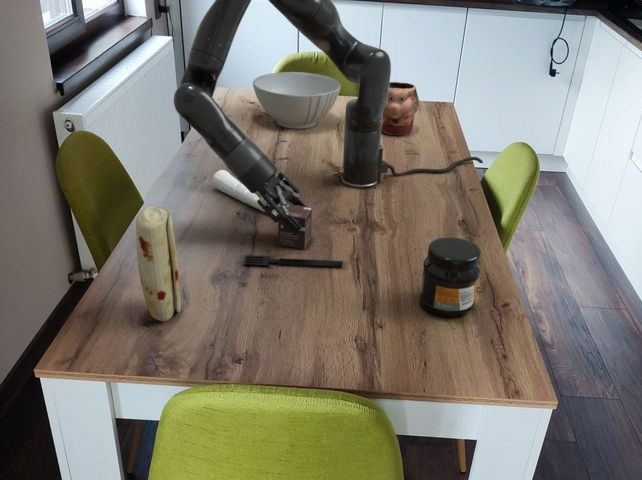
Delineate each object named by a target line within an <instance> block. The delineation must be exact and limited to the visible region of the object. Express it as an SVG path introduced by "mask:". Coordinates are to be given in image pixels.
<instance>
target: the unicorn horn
mask: <svg viewBox="0 0 642 480" xmlns="http://www.w3.org/2000/svg"><path fill="white" fill-rule="evenodd" d="M211 183H212V186H213V187H214V189H216V190H218V191H220V192H222V193H224V194H226V195H227V196H228V195H229V196H230V197H233V198H234V199H237V200H238V201H240V202H242V203H245V204H247V205H248V206H251V207H253V208H255V209H257V210H259V211H262V212H264V213H266V212H265V211H264V210H263V209H262V207H261V206H260V205H259V204H258V203H257V201H258V200H259V199H260V198H261V197H259V196H258V195H257V194H256V193H251V192H250V191H249V190H248V189H247V188H246V187H245V186H244V185H243V184H242V183H241V182H240V181H239V180H238V178H236V177H235V176H233V174H230V173H229V171H227V170H225V169H220V170H217V171H216V172H215V173H214V174H213V175H212V180H211ZM272 213H273V212H272ZM273 214H274V215H275V213H273ZM275 216H276V215H275Z"/></svg>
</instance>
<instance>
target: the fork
mask: <svg viewBox="0 0 642 480" xmlns="http://www.w3.org/2000/svg"><path fill="white" fill-rule="evenodd" d="M243 265H244V267H255V268H256V267H258V268H269V267H270V265H278V267H279V266H281V267H282V266H283V267H301V268H302V267H305V268H324V269H325V268H326V269H327V268H329V269H343V261H342V260H325V259H324V260H320V259H299V258H279V259H277V258H271V255H249V254H248V255H247V254H246V255H245V260H244V264H243Z"/></svg>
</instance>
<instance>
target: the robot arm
mask: <svg viewBox="0 0 642 480" xmlns="http://www.w3.org/2000/svg"><path fill="white" fill-rule="evenodd" d="M267 1H268V2H269V3H270V4H271V5H272V6H273V7H274V8H275V9H276V10H277V11H278V12H279V13H280V14H281V15H282V16H283V17H284V18H285V19H286V20H287V21H288V22H289V23H290V24H291V25H292V26H293V27H294V28H295V29H296V30H297V31H298V32H299V33H300V34H301V35H302V36H304V37H305V38H306V39H307V40H308V41H309V42H311V43H312V44H313V45H314V46H315V47H316V48H318V50H320V51H321V52H322V53H323V54H324V55H326V56H327V57H328V59H329V60H330V61H331V62H332V63H333V65H334V66H335V67H336V69H337V71H339V72H340V74H341V75H342V76H343V77H344V79H346V80H347V81H348V82H350V83H352V84H354V85H356V86H358V92H357V98H353V99H349V101H347V102H346V104H345V116H344V136H343V137H344V138H343V153H342V154H343V155H342V164H340V165H341V167H340V169H341V170H340V171H341V182H342V183H343V185H346V186H348V187H351V188H359V189H365V188H371V187H374V186H376V185H377V184H380V183H381V181H382V179H381V178H382V174H387V173H389V170H390V172H391V175H392V176H393V177H394V176H395V177H402V176H408V175H411V174H414V173H433V174H441V173H447V172H449V171H451V170H452V169H454V167H455V166H457V165H461V164H464V163H467V162H470V161H476V162H478V163H479V164H483V163H484V161H483V160H482V159H481V158H480V157H477V156H470V157H466V158H463V159H460V160H457V161H454V162H453V163H452V164H450V165H449V166H448V167H445V168H437V169H436V168H413V169H409V170H406V171H404V172H399V173H398V172H396V170H395V167H394V166H393V165H391V164H389V163H388V162H387V161H385V160H384V159H383V155H384V146H383V145H381V141H382V140H381V139H382V124H383V117H382V116H383V110H384V108H385V105H386V102H387V97H388V90H389V83H390V82H391V75H392V74H391V73H392V63H391V58H390V56H389V53H388V52H386V51H385V50H384V49H382V48H379V47H375V46H372V45H370V44H365V42H364V43H363V42H362V41H360V40H358V39H357V38H356V37H355V36H353V35H352V34H351V33H350V32H349V31H348V30H347V28H345V27H344V25H343V23H342V21H341V18H340V14H339V11H338V9H337V7H336V5H335V4H334V3H333V1H332V0H267ZM251 3H252V0H214V1H213V3H212V4H211V6H210V7H209V8H208V10H206V13H205V14H204V16H203V17H202V19H201V21H200V23H199V25H198V28H197V29H196V33H195V36H194V38H193V41H192V43H191V47H190V50H189V53H188V58H187V63H186V64H187V65H186V67H185V70H184V73H183V76H182V78H181V81H180V84H179V86H178V87H177V89H176V90H175V91H174V94H173V106H174V109H175V111H176V113H177V114H178V116H179V117H180V118H182V119H183V120H184V121H186V122H187V123H188V124H189V125H190V126H191V127H192V128H193V130H195V131H196V132H197V133H198V134H199V135H200V136H201V137H202V138H203V140H204V141H205V142H206V144H207V145H208V147H209V148H210V149H211V150H212V151H213V153H215V155H217V157H218V158H219V159H220V160H221V161H222V162H223V163H224V165H225V166H226V167H227V168H228V170H229V171H230V173H232V175H234V177H235V178H236V179H237V180H238V181H239V182H240V183H242V184H243V185H244V186H245V187H246V188H247V189H248V190H249V191H250V192H251V193H254V194H256V193H257V192H258V193H259V194H260V196H261V197H259V198H260V199H259V200H258V201H257V203H258V204H259V205H260V206H261V207H262V209H263V210H264V211H265V212H264V211H263V212H264V213H266V214H267V215H268V216H269V217H270V219H271V220H272V221H273V222H274V223H275V224H277V223H278V222H279V221H280V222H281V221H282V222H283V223H284V224H285V225H286V226H287V227H288V228H289V229H290V230H291V231H292V232H293V233H296V232H298V231H299V230H300V229H301V225H300V224H299V223H298V222H297V221H296V220H295V219H294V217H293V216H292V215H291V214H290V215H289V212H288V210H287V208H286V205H287V204H289V205H299V206H303V207H308V206H307V205H306V204H305V202H303V201H302V199H301V198H300V194H299V193H300V190H299V188H298V187H297V186H296V185H295V184H294V183H293V182H292V181H291V180H290V179H289V177H287V176H286V175H285V174H284V172H282V171H279V173H277V172H278V167H277V166H276V165H275V164H274V163H273V162H272V161H271V159H270V158H269V157H268V156H267V155H266V154H265V153H264V151H262V150H261V149H260V147H259V146H258V145H257V144H256V143H255V142H254V141H252V140H251V139H250V138H249V137H248V136H247V134H245V133H244V132H243V131H242V129H240V127H238V125H237V124H236V123H235V122H234V121H233V120H232V119H230V118H229V116H227V115H226V113H225V112H224V110H223V109H222V107H220V105H219V104H218V103H217V101H216V100H215V99H214V98H213V96H214V92H215V90H216V86H217V84H218V80H219V77H220V76H221V74H222V72H223V69H224V67H225V64H226V61H227V58H228V56H229V53H230V51H231V47H232V45H233V42H234V39H235V36H236V34H237V31H238V29H239V27H240V25H241V23H242V20H243V18H244V15H245V14H246V12H247V10H248V8H249V6H250V4H251ZM282 210H283V211H282ZM272 212H273V213H275V215H276V216H275V215H274V214H273V213H272Z"/></svg>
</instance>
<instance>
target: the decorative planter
mask: <svg viewBox="0 0 642 480" xmlns="http://www.w3.org/2000/svg"><path fill="white" fill-rule="evenodd" d="M419 106H420V98H419V95H418V91H417V87H416V85H415V84H413V83H409V82H400V81H390V83H389V90H388V97H387V102H386V105H385V108H384V110H383V116H382V128H381V132H383V133H385V134H387V135H393V136H408V135H410V134H411V133H412V131H413V128H414V120H415V115H416V113H417V112H418V109H419Z"/></svg>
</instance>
